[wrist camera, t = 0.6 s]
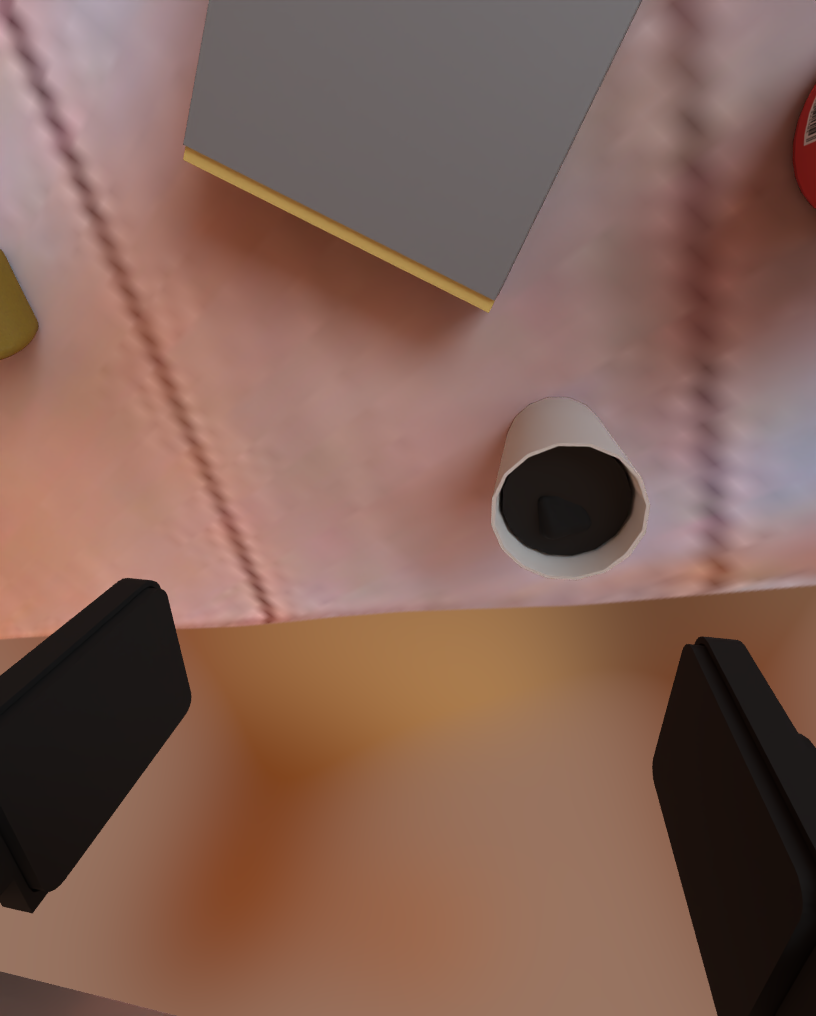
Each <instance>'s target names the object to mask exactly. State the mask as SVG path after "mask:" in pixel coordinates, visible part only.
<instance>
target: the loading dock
mask: <svg viewBox="0 0 816 1016" xmlns="http://www.w3.org/2000/svg"><path fill="white" fill-rule="evenodd" d="M641 2H642V0H209V4H208V9H207V15H206V21H205V26H204V32H203V37H202V43H201V49H200V54H199V60H198V65H197V71H196V76H195V82H194V88H193V93H192V99H191V104H190V110H189V115H188V121H187V127H186V132H185V138H184V143H183V145H185V146H186V147H185V152H184V158H183V160H185V161H187V162H189V163H191V164H193V165H195V166H197V167H199V168H201V169H203V170H205V171H207V172H209V173H211V174H213V175H215V176H217V177H219V178H221V179H223V180H225V181H227V182H229V183H231V184H233V185H235V186H237V187H239V188H241V189H243V190H245V191H247V192H249V193H251V194H253V195H255V196H257V197H259V198H261V199H263V200H265V201H267V202H269V203H271V204H273V205H275V206H277V207H278V208H280V209H282V210H284V211H286V212H288V213H290V214H292V215H294V216H296V217H298V218H300V219H302V220H304V221H306V222H308V223H310V224H312V225H314V226H316V227H318V228H320V229H322V230H324V231H326V232H328V233H330V234H332V235H334V236H336V237H338V238H340V239H342V240H344V241H346V242H348V243H350V244H352V245H354V246H356V247H358V248H360V249H362V250H364V251H366V252H368V253H370V254H372V255H374V256H376V257H378V258H380V259H382V260H384V261H386V262H388V263H390V264H392V265H394V266H396V267H398V268H400V269H402V270H404V271H406V272H408V273H410V274H412V275H414V276H416V277H418V278H420V279H422V280H424V281H426V282H428V283H430V284H432V285H434V286H436V287H438V288H440V289H442V290H444V291H446V292H448V293H450V294H452V295H454V296H456V297H458V298H460V299H462V300H464V301H466V302H468V303H470V304H472V305H474V306H476V307H478V308H480V309H482V310H484V311H486V312H488V313H489V311H490V309H491V307H492V305H493V303H494V301H495V299H496V298H497V296H498V295H499V293H500V291H501V288H502V286H503V284H504V282H505V280H506V278H507V276H508V274H509V272H510V270H511V268H512V266H513V264H514V262H515V260H516V258H517V256H518V254H519V252H520V250H521V248H522V245H523V243H524V241H525V239H526V237H527V235H528V233H529V231H530V229H531V227H532V225H533V223H534V221H535V219H536V217H537V215H538V213H539V211H540V209H541V207H542V204H543V202H544V200H545V198H546V196H547V194H548V192H549V190H550V188H551V186H552V184H553V182H554V180H555V178H556V176H557V174H558V172H559V170H560V168H561V166H562V164H563V161H564V159H565V157H566V155H567V153H568V151H569V149H570V147H571V145H572V143H573V141H574V139H575V137H576V135H577V133H578V131H579V129H580V127H581V125H582V123H583V121H584V118H585V116H586V114H587V112H588V110H589V108H590V106H591V104H592V102H593V100H594V98H595V96H596V94H597V92H598V90H599V88H600V86H601V84H602V82H603V80H604V77H605V75H606V73H607V71H608V69H609V67H610V65H611V63H612V61H613V59H614V57H615V55H616V53H617V51H618V49H619V47H620V45H621V43H622V41H623V39H624V37H625V34H626V32H627V30H628V28H629V26H630V24H631V22H632V20H633V18H634V16H635V14H636V12H637V10H638V8H639V6H640V4H641Z"/></svg>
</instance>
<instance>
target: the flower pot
mask: <svg viewBox="0 0 816 1016" xmlns="http://www.w3.org/2000/svg"><path fill="white" fill-rule="evenodd" d="M37 330H38V322H37V319H36V317H35V315H34V313H33V311H32V309H31V307H30V305H29V304H28V302H27V299H26V297H25V295H24V293H23V291H22V289H21V287H20V285H19V283H18V281H17V279H16V277H15V275H14V273H13V271H12V269H11V267H10V265H9V263H8V261H7V258H6V256H5V255H4V253H3V251H2V250H1V249H0V360H1V359H4V358H7V357H9V356H12V355H14V354H15V353H17V352H19V351H21V350H22V349H23V348H25V347H26V346H27V345H28V344H29V343H30V342H31V340H32V339H33V338H34V336H35V334H36V332H37Z"/></svg>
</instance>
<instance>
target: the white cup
mask: <svg viewBox="0 0 816 1016" xmlns="http://www.w3.org/2000/svg"><path fill="white" fill-rule="evenodd" d="M649 509H650V503H649V500H648V496H647V493H646V490H645V487H644V484H643V480H642V478H641V476H640V475H639V473H638V472H637V471H636V469H635V468H634V466H633V465H632V464H631V462H630V461H629V460H628V458H627V457H626V455H625V454H624V453H623V451H622V450H621V448H620V447H619V446H618V444H617V443H616V442H615V440H614V439H613V437H612V436H611V435H610V433H609V432H608V430H607V429H606V428H605V426H604V425H603V424H602V422H601V421H600V419H599V418H598V417H597V416H596V415H595V414H594V413H593V412H592V411H591V409H590V408H589V407H588V406H587V405H585V404H583V403H580V402H578V401H576V400H573V399H571V398H568V397H547V398H545V399H542V400H540V401H537V402H535V403H532V404H529V405H528V406H527V407H526V408H525V409H524V410H523V411H522V412H521V413H519V414H518V415H517V416H516V417H515V418H514V421H513V423H512V425H511V427H510V429H509V431H508V433H507V437H506V441H505V445H504V450H503V454H502V458H501V462H500V467H499V471H498V475H497V479H496V484H495V488H494V492H493V496H492V515H491V526H492V528H493V530H494V533H495V535H496V537H497V540H498V542H499V544H500V547H501V549H502V550H503V551H504V552H505V553H506V554H507V555H508V556H510V557H511V558H512V559H513V560H514V561H515V562H516V563H517V564H518V565H519V566H520V567H521V568H524V569H526V570H528V571H531V572H533V573H536V574H538V575H540V576H543V577H545V578H551V579H566V580H579V579H583V578H586V577H590V576H594V575H598V574H602V573H605V572H607V571H608V570H610V569H611V568H613V567H614V566H616V565H617V564H619V563H620V562H622V561H623V560H625V559H626V558H627V557H629V556H630V555H631V553H632V552H633V550H634V549H635V547H636V546H637V544H638V543H639V541H640V540H641V539H642V537H643V536H644V534H645V533H646V527H647V521H648V515H649Z"/></svg>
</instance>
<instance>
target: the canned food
mask: <svg viewBox="0 0 816 1016" xmlns="http://www.w3.org/2000/svg"><path fill="white" fill-rule="evenodd" d="M792 161H793V167H794V173H795V178H796V181H797V183H798V186H799V188H800V191H801V193H802V194H803V195H804V197H805V198H806V199H807V201H808V202H809V204H810V205H811V206H813V207H814V208H815V209H816V84H815V86H814V87H813V89H812V91H811V93H810V94H809V96H808V98H807V100H806V102H805V104H804V106H803V109H802V112H801V114H800V117H799V119H798V122H797V126H796V131H795V136H794V140H793V160H792Z"/></svg>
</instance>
